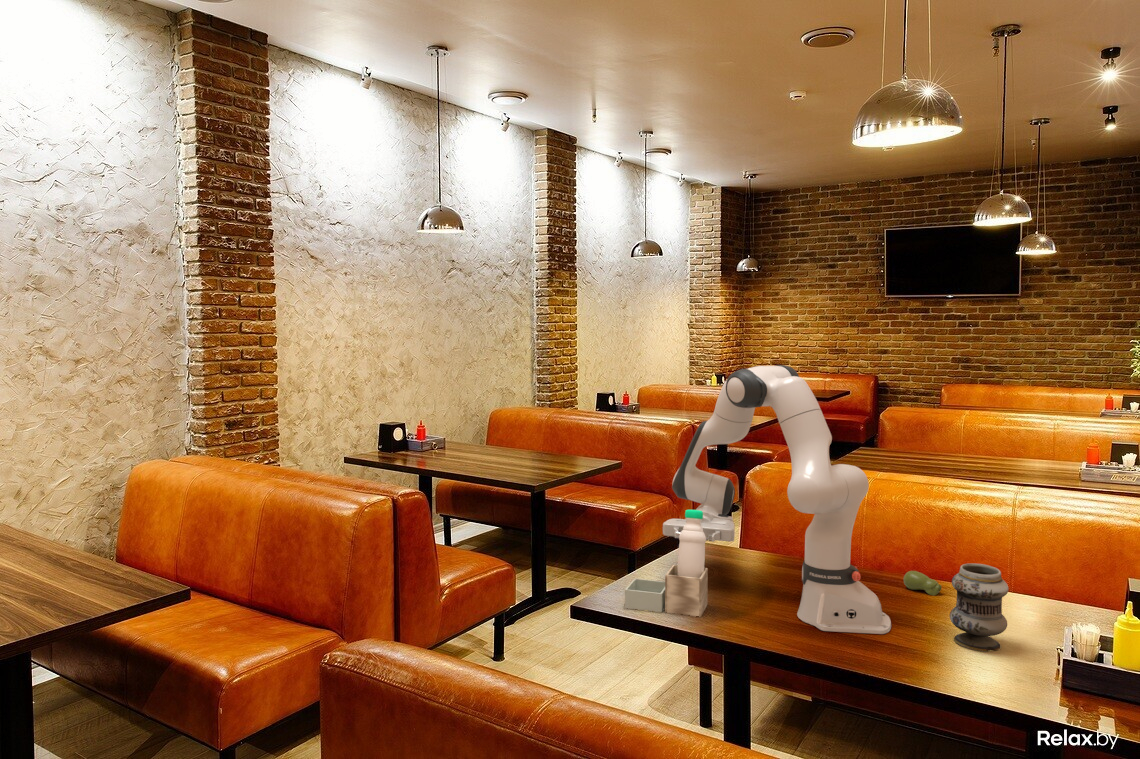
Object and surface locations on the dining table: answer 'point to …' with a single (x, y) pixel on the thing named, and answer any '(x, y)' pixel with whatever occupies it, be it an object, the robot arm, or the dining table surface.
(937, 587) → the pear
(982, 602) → the apothecary jar
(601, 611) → the dining table surface
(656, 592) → the bottle caddy
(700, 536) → the water bottle
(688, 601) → the birch sleeve
